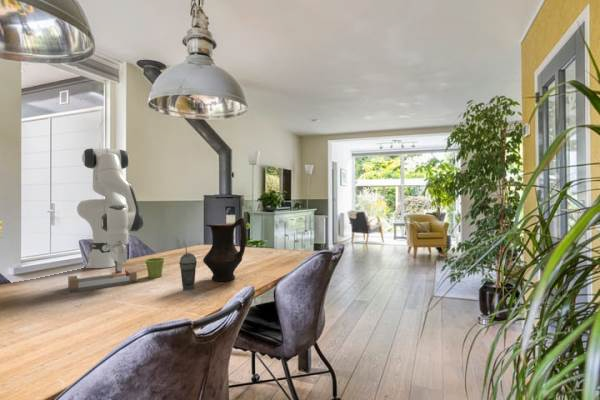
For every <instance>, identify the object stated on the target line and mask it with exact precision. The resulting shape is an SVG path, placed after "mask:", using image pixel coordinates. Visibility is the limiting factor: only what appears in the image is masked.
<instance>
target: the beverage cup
mask: <svg viewBox="0 0 600 400" xmlns="http://www.w3.org/2000/svg"><path fill="white" fill-rule="evenodd" d="M184 248H185V253H184V254H182V256H181V257H180V259H179V263H178V264H179V268H180V277H181V283H182V284H181V285H182V291H185V292H187V291H189V292H190V291H193V290H194V289H195V282H196V267H197V263H198V261H197V258H196V256H195V255H194V254H193V253H190V252H189V253H188V249H187V243H186V242H184Z"/></svg>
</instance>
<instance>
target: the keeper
mask: <svg viewBox="0 0 600 400" xmlns="http://www.w3.org/2000/svg"><path fill="white" fill-rule="evenodd" d="M114 263H115V266H114V267H115V268H114V269H115V271H113V272H112V271H111V273H110V274H111V278H115V277H123V276H126V273H125V270H123V269H122V270H121V271H118V270H117V262H116V261H114Z"/></svg>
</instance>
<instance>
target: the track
mask: <svg viewBox="0 0 600 400" xmlns="http://www.w3.org/2000/svg"><path fill="white" fill-rule="evenodd" d="M124 272H125V273H126V276H123V277H115V278H111V273H110V274H103V275H101V274H100V275H96V276H95V275H94V276H88V277H81V278H80V277H79V278H78V276H77V275H69V276H67V281H68V282H67V285H68V286H67V288H68V291H69V293H75V292H76V293H77V292H82V291H89V290H90V291H91V290H96V289H97V290H98V289H104V288H109V287H116V286H123V285H129V284H136V283H138V282H137V281H138V279H137V271H136V270H135V269H133V268H126V269H124Z"/></svg>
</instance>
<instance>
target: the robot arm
mask: <svg viewBox="0 0 600 400" xmlns="http://www.w3.org/2000/svg"><path fill="white" fill-rule="evenodd" d="M81 156H82V157H81V160H82V163H83V165H84V166H85V167H86V168H88V169H91V170H92V190H93V191H94V192H95V193H96V194H98V195H100V196H103V197H104V198H102V199H100V198H99V199H98V198H97V199H96V198H95V199H86V200H81V201H80V202H79V203H78V205H77V207H76V212H77V214H78V215H79V217H80V218H82V219H84V220H85V221H86V222H87V223H88V224H89V226H90V228H91V232H92V244H91V248H92V250H91V251H90V252H89V254H88V255H87V260H88V262H87V264H86V265H85V269H103V268H114V267H115V263H114V261H116V262H117V270H118V271H121V270H122V271H123V269H122V268H123V264H124V263H127V260H128V257H127V246H126V245H128V244H129V243H130V242H129V240H130V239H129V238H130V237H129V232H138V231H140V230H141V229H142V228H143V226H144V217H143V214H142V212H141V210H140V208H139V207H140V206H139V205H138V201H137V197H136V194H135V191H134V189H133V186H132V184H131V183H130V182H128V181H127V180H126V179H125V177H124V175H123V169H126V168H127V167H129V163H130V156H129V153H128V152H127V151H126V150H123V149H115V148H86V149H85V150H84V151H83V153H82V155H81ZM120 196H122V197H124V198H125V200H124V199H123V198H121V197H120Z"/></svg>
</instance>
